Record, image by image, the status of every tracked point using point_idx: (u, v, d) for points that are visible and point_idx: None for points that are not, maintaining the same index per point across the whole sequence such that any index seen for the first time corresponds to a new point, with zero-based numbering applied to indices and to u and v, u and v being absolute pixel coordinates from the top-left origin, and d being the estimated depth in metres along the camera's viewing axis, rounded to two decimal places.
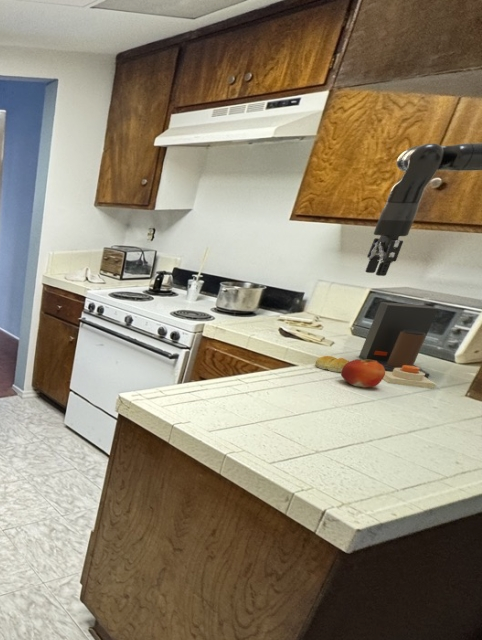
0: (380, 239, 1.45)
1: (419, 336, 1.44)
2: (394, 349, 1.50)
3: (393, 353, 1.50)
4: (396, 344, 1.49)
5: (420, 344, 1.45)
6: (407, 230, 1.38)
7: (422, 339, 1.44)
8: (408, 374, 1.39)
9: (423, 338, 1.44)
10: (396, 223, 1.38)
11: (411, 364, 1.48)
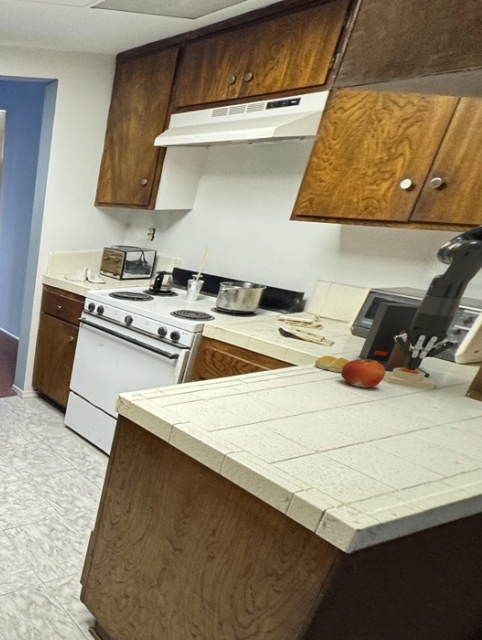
0: None
1: None
2: (394, 349, 1.50)
3: (393, 353, 1.50)
4: (396, 344, 1.49)
5: None
6: (422, 323, 1.34)
7: None
8: (408, 374, 1.39)
9: None
10: (415, 314, 1.37)
11: None
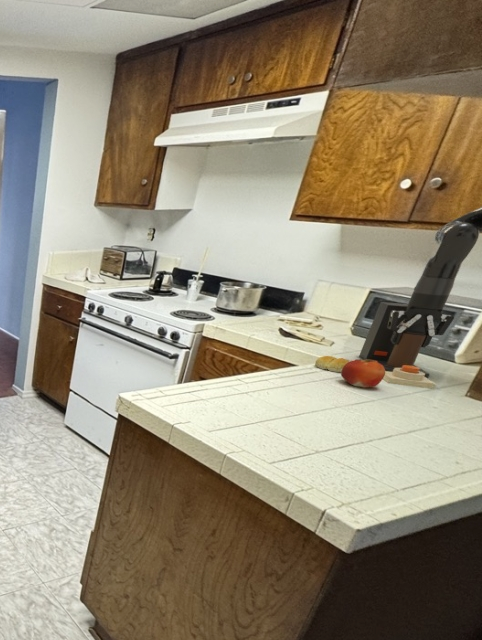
0: None
1: (419, 336, 1.44)
2: (394, 349, 1.50)
3: (393, 353, 1.50)
4: None
5: (420, 344, 1.45)
6: (419, 302, 1.42)
7: (422, 339, 1.44)
8: (408, 374, 1.39)
9: (423, 338, 1.44)
10: (412, 294, 1.44)
11: (411, 364, 1.48)
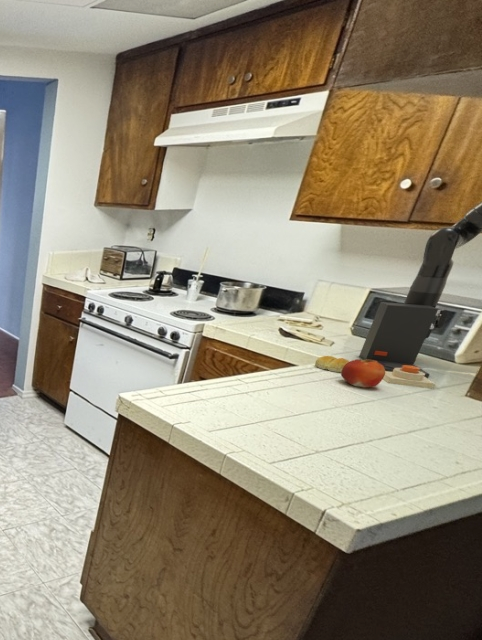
0: None
1: None
2: None
3: None
4: None
5: None
6: (414, 300, 1.56)
7: None
8: (408, 374, 1.39)
9: None
10: None
11: None
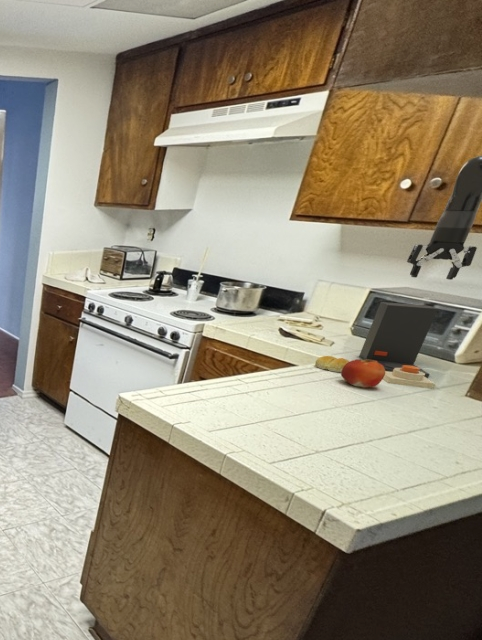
0: None
1: None
2: None
3: None
4: None
5: None
6: (441, 236, 1.48)
7: None
8: (408, 374, 1.39)
9: None
10: (435, 229, 1.51)
11: None
